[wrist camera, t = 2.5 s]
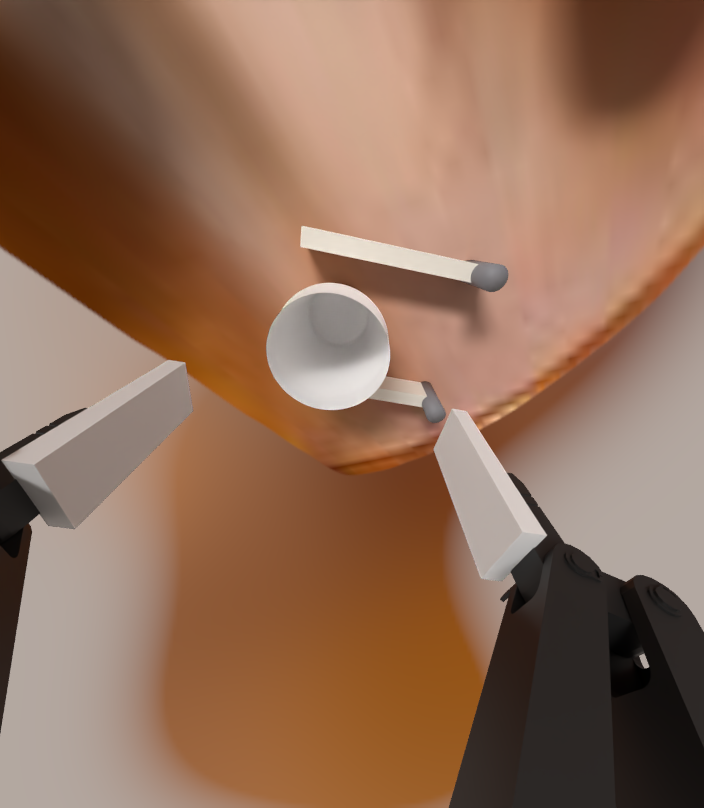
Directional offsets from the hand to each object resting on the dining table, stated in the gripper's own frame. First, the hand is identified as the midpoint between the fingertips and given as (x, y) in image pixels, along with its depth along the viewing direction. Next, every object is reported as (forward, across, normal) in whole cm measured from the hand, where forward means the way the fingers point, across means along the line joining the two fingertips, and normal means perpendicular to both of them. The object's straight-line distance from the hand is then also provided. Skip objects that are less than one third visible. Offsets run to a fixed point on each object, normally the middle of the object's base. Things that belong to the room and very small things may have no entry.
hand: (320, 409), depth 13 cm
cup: (+18, 0, 0) cm, 18 cm away
